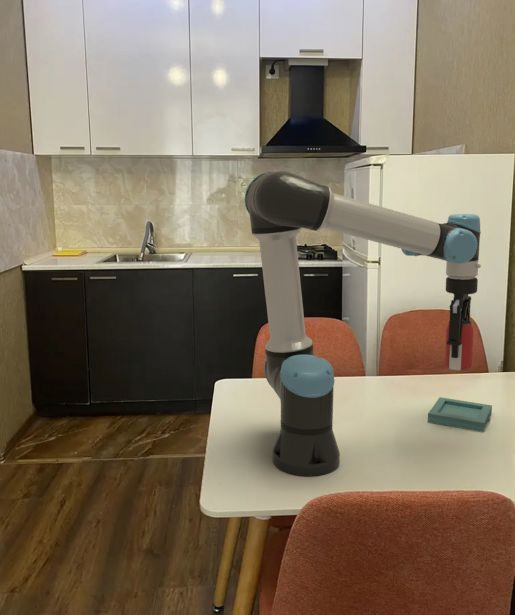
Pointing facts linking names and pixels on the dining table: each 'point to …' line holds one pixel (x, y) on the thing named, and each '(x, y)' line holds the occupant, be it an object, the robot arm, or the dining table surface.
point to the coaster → (460, 414)
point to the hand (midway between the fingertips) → (458, 365)
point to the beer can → (466, 346)
